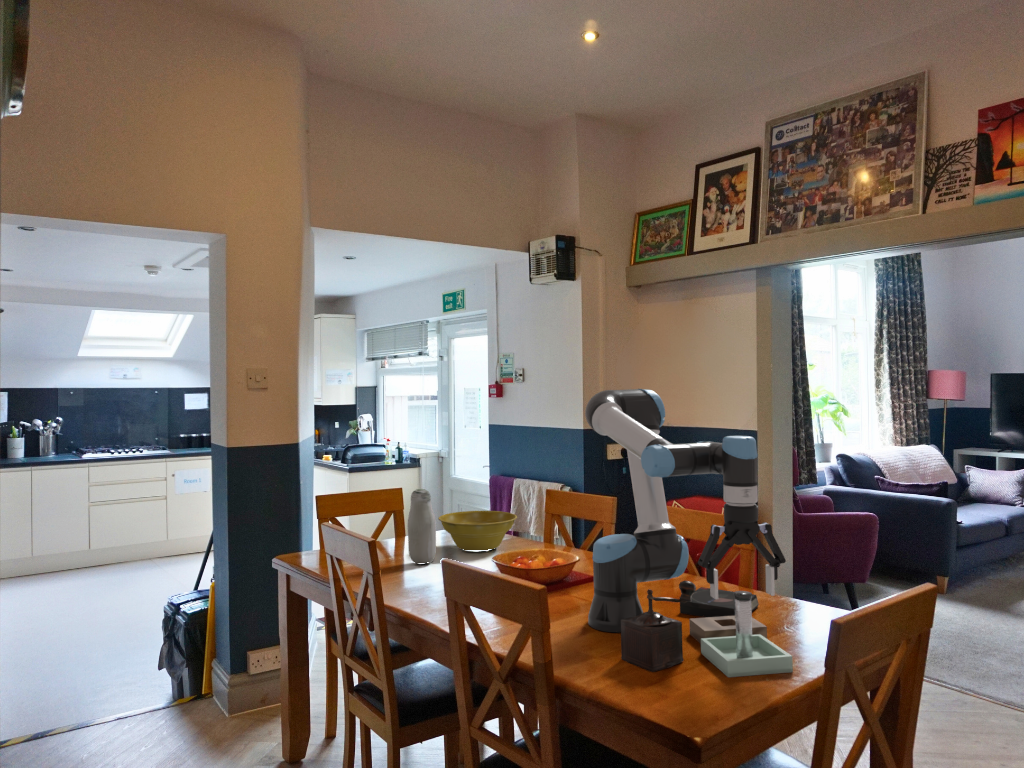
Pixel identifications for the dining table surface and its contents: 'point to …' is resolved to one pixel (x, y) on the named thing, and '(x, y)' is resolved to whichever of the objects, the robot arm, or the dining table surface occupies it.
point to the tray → (763, 661)
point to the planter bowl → (477, 528)
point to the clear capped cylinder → (743, 624)
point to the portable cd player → (712, 604)
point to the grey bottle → (421, 528)
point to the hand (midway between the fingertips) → (742, 595)
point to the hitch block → (720, 627)
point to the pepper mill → (654, 635)
